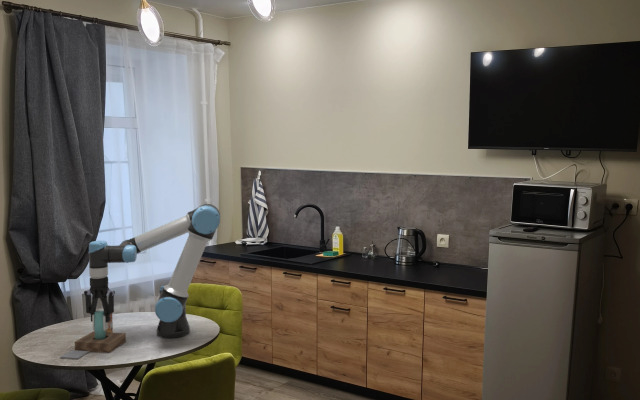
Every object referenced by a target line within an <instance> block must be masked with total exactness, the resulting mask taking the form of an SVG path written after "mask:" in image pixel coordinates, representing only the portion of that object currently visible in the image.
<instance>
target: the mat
mask: <svg viewBox="0 0 640 400" xmlns="http://www.w3.org/2000/svg"><path fill="white" fill-rule="evenodd" d="M89 353H90V352H89V351H76V350H75V349H74V350H73V349H71V350H69V351H68V352H65V353H63V355H61V356H59V359H63V360H65V359H66V360H79V359H81V358H83V357H85V356H86V355H88V354H89Z"/></svg>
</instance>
